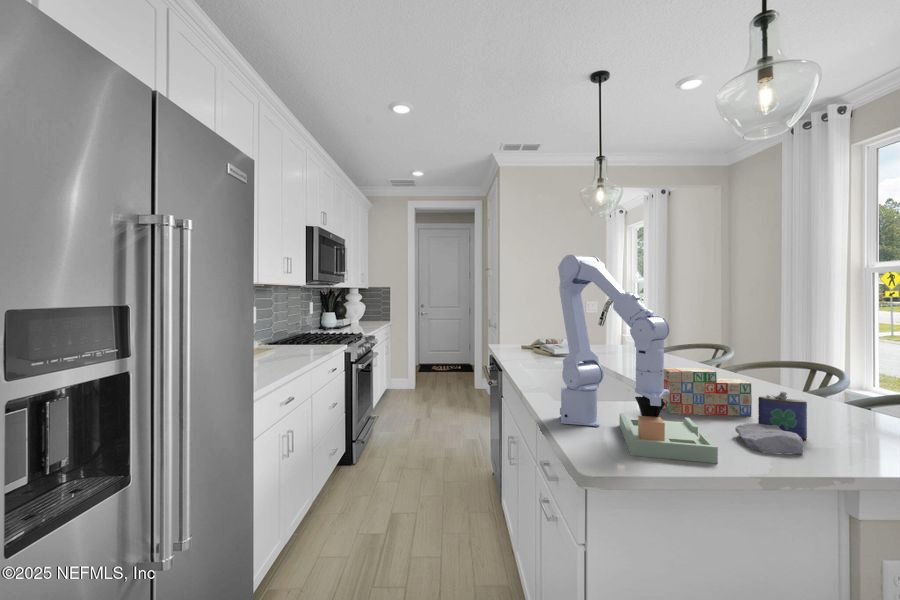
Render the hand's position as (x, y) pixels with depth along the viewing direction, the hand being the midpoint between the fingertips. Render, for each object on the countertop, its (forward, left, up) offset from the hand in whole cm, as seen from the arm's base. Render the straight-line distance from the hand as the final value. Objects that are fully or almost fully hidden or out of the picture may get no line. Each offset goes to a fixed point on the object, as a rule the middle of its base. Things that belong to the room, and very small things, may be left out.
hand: (649, 430), depth 95 cm
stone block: (+25, +6, -3) cm, 26 cm away
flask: (+31, +13, -3) cm, 34 cm away
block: (0, -4, -1) cm, 4 cm away
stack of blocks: (+20, +32, -3) cm, 38 cm away
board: (+3, +2, -3) cm, 5 cm away
